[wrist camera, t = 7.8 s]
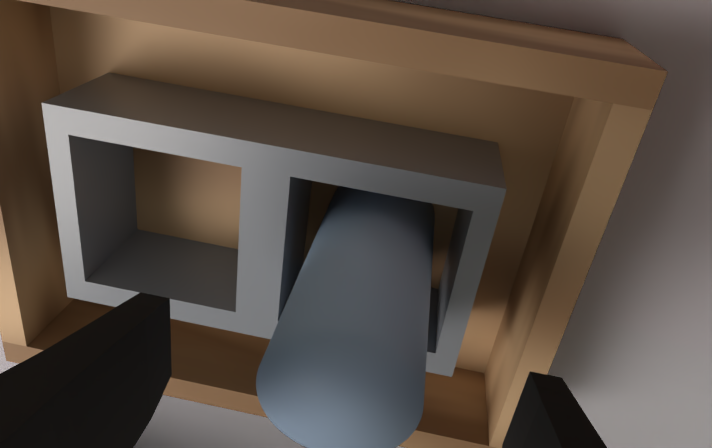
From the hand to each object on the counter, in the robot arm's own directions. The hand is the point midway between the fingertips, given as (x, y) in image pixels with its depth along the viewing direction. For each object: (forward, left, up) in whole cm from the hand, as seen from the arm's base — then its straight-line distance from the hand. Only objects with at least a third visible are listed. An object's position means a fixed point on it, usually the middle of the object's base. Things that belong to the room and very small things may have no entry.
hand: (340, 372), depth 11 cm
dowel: (0, 0, -7) cm, 7 cm away
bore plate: (0, +3, -7) cm, 8 cm away
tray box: (0, +3, -7) cm, 8 cm away
